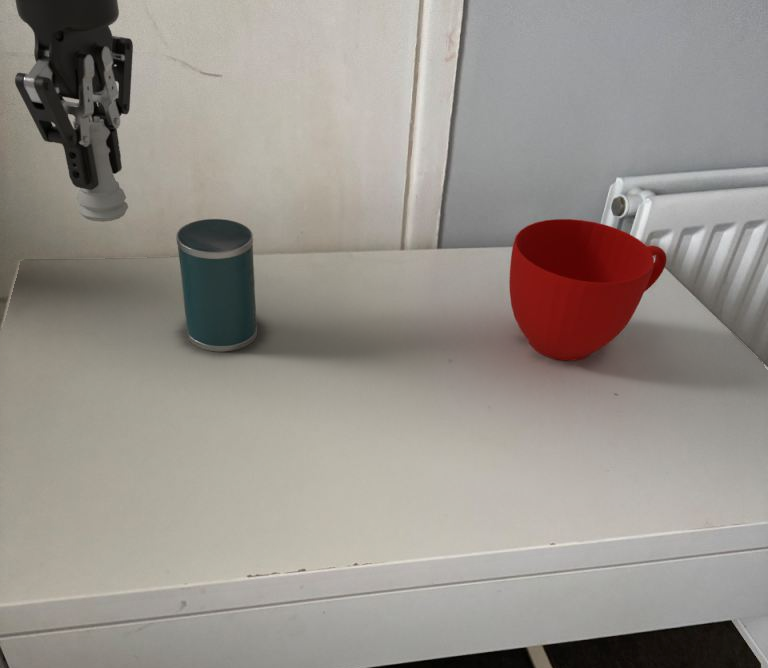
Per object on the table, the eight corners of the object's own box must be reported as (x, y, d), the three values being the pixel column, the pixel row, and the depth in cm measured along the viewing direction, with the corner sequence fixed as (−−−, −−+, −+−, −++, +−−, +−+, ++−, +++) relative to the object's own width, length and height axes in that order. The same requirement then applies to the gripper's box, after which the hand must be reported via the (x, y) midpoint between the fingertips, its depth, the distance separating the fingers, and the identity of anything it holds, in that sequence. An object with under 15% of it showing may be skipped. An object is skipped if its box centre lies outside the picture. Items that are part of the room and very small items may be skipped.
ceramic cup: (683, 356, 83) (717, 264, 76) (542, 391, 77) (565, 293, 70) (606, 295, 92) (630, 206, 85) (473, 321, 86) (488, 228, 79)
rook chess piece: (105, 198, 78) (90, 108, 73) (139, 212, 77) (126, 121, 71) (67, 213, 76) (49, 120, 70) (101, 227, 74) (85, 134, 68)
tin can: (174, 342, 79) (162, 243, 72) (206, 309, 84) (197, 213, 77) (239, 358, 78) (233, 258, 71) (268, 323, 83) (264, 227, 76)
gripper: (67, -73, 68) (102, 145, 80) (-48, -42, 58) (12, 201, 70) (150, -61, 66) (174, 159, 78) (47, -27, 56) (92, 218, 68)
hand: (97, 178), depth 74 cm, fingers closed on rook chess piece, 3 cm apart
